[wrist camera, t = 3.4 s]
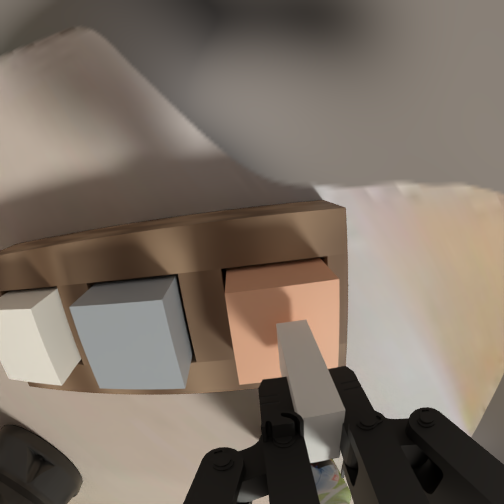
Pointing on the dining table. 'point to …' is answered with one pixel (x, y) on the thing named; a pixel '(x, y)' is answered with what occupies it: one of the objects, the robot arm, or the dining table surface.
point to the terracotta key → (280, 312)
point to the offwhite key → (36, 337)
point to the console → (184, 274)
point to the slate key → (135, 333)
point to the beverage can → (330, 483)
